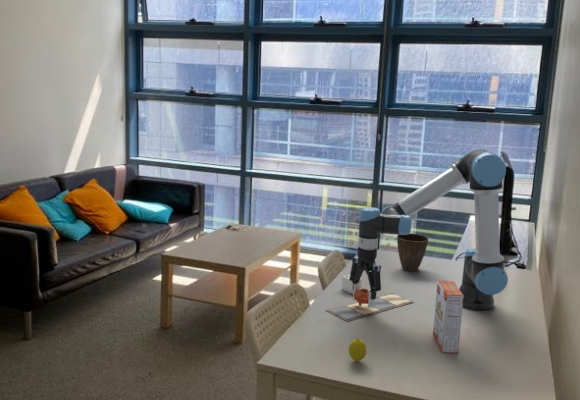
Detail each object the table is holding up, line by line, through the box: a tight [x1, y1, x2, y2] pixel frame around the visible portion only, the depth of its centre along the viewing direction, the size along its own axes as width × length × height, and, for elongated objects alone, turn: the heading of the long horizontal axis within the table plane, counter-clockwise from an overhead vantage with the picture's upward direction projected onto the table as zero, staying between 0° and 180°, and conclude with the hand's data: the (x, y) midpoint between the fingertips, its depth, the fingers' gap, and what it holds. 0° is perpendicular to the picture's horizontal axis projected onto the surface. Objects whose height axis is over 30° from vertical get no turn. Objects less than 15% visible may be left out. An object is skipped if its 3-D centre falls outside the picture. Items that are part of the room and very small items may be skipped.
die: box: [341, 274, 363, 295], centre depth 246 cm, size 6×6×6 cm
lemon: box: [348, 337, 367, 363], centre depth 182 cm, size 6×6×8 cm
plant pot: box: [396, 233, 429, 272], centre depth 277 cm, size 15×15×16 cm
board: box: [325, 292, 414, 322], centre depth 229 cm, size 12×37×1 cm, turn 127°
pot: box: [354, 288, 370, 306], centre depth 226 cm, size 8×8×7 cm
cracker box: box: [432, 280, 464, 354], centre depth 196 cm, size 14×6×21 cm, turn 178°
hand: (363, 302), depth 226 cm, fingers closed on pot, 8 cm apart
